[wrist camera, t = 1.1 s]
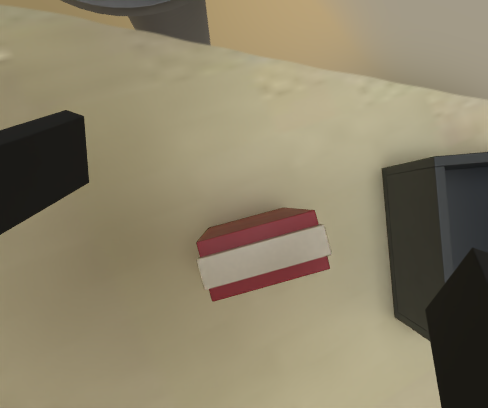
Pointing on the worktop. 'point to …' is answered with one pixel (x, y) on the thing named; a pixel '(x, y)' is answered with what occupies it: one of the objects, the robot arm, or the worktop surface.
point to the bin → (432, 226)
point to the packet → (261, 251)
